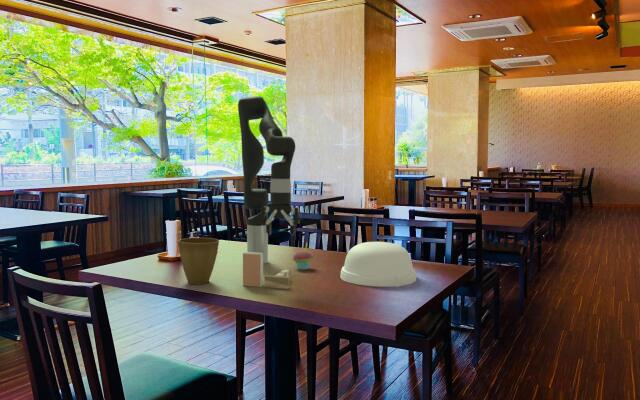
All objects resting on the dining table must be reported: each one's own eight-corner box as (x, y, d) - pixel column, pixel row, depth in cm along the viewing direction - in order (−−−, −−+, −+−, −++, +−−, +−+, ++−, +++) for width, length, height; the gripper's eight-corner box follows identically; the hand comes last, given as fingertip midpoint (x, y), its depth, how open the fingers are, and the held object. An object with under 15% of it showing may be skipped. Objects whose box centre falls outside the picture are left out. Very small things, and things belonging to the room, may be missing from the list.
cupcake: (316, 267, 224) (316, 240, 224) (307, 271, 217) (307, 242, 216) (298, 265, 228) (298, 238, 227) (289, 269, 220) (289, 241, 219)
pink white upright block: (245, 283, 194) (245, 251, 193) (263, 285, 192) (263, 252, 191) (242, 285, 191) (242, 253, 190) (260, 286, 189) (260, 254, 188)
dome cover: (327, 272, 216) (328, 239, 215) (391, 268, 227) (391, 236, 226) (362, 290, 186) (362, 251, 185) (433, 284, 197) (434, 247, 196)
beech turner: (275, 279, 202) (275, 269, 202) (298, 280, 200) (298, 270, 200) (264, 287, 189) (264, 276, 189) (288, 288, 187) (288, 277, 187)
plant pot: (200, 288, 185) (200, 244, 184) (169, 283, 192) (169, 240, 191) (227, 280, 198) (227, 239, 197) (197, 276, 205) (197, 236, 204)
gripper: (302, 191, 193) (301, 234, 194) (265, 190, 196) (265, 233, 197) (296, 192, 186) (296, 237, 187) (258, 191, 189) (258, 235, 190)
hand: (280, 235), depth 192 cm, fingers open, 8 cm apart
